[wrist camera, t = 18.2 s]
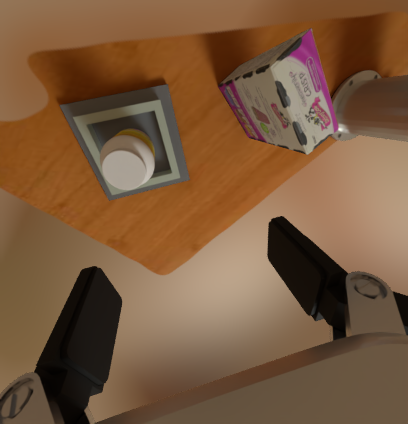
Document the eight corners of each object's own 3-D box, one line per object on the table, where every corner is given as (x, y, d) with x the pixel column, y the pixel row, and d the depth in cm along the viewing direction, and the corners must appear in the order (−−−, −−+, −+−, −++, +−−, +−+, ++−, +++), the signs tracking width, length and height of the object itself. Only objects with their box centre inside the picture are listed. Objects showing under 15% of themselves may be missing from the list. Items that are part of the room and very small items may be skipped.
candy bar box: (268, 120, 35) (342, 129, 22) (248, 138, 36) (307, 158, 22) (239, 62, 30) (315, 23, 16) (216, 85, 30) (268, 67, 17)
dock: (167, 84, 29) (168, 82, 26) (188, 178, 37) (191, 184, 34) (62, 105, 27) (51, 105, 24) (110, 198, 35) (106, 206, 33)
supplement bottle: (118, 120, 29) (96, 128, 18) (159, 137, 31) (162, 153, 20) (110, 160, 31) (87, 188, 20) (148, 172, 34) (146, 203, 23)
